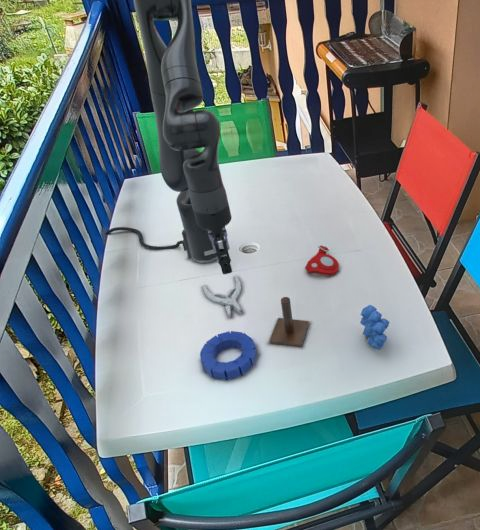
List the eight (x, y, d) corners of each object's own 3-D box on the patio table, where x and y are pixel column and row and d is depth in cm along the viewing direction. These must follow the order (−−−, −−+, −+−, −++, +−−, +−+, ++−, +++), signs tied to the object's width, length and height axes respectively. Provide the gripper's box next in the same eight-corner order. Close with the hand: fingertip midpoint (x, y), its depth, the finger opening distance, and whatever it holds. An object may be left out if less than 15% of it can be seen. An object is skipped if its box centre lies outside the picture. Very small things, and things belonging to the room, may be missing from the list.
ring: (194, 376, 114) (191, 368, 112) (214, 336, 123) (212, 328, 121) (246, 382, 112) (244, 374, 111) (262, 342, 122) (261, 334, 120)
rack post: (269, 343, 122) (263, 309, 114) (278, 320, 128) (273, 287, 121) (301, 347, 121) (297, 313, 114) (308, 323, 127) (305, 290, 120)
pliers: (236, 273, 140) (252, 305, 130) (237, 277, 141) (253, 309, 131) (201, 283, 136) (215, 317, 126) (202, 287, 137) (216, 322, 127)
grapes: (398, 355, 119) (401, 320, 112) (373, 364, 117) (373, 328, 110) (379, 323, 128) (380, 288, 120) (355, 330, 125) (354, 295, 118)
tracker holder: (346, 268, 143) (316, 273, 137) (341, 278, 146) (312, 284, 140) (327, 239, 149) (298, 243, 143) (323, 250, 152) (294, 254, 146)
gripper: (189, 191, 111) (205, 249, 121) (195, 223, 100) (212, 284, 110) (223, 184, 113) (235, 242, 123) (232, 216, 102) (246, 276, 112)
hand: (224, 262), depth 117 cm, fingers open, 8 cm apart
